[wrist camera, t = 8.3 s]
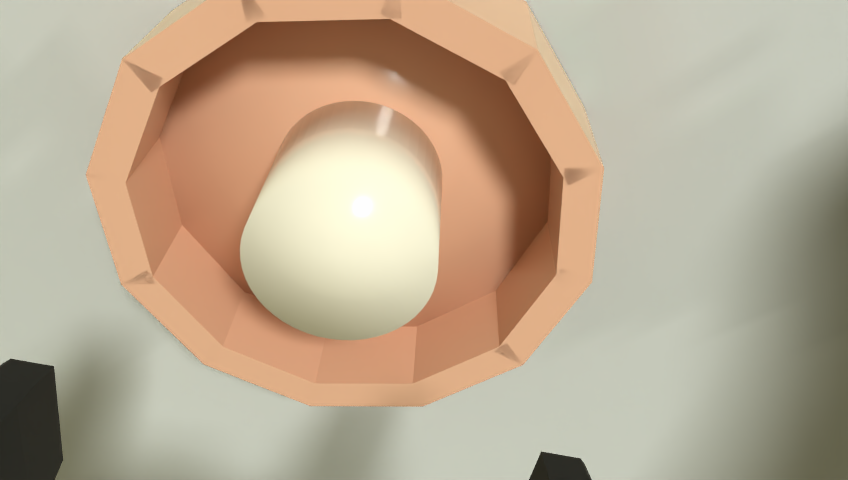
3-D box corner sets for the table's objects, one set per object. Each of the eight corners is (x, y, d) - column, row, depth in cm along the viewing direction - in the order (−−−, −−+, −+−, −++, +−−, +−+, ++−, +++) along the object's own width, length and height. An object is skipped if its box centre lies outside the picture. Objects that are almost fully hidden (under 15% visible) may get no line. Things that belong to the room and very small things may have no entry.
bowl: (650, 228, 20) (677, 300, 17) (317, 379, 23) (300, 457, 21) (431, -173, 15) (425, -153, 12) (50, 96, 18) (-14, 153, 16)
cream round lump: (474, 198, 18) (476, 288, 16) (346, 271, 20) (325, 366, 17) (375, 67, 17) (356, 140, 14) (242, 157, 18) (198, 242, 15)
